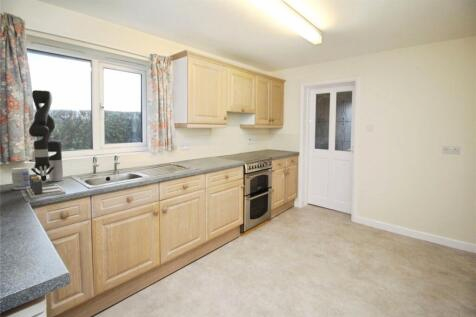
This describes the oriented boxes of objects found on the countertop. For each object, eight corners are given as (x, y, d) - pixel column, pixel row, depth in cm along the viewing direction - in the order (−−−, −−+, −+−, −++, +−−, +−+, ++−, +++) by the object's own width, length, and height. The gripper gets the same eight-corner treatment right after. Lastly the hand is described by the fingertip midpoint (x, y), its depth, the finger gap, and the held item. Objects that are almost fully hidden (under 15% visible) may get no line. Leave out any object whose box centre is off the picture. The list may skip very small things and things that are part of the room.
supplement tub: (28, 189, 181) (26, 168, 179) (10, 190, 177) (9, 169, 175) (32, 186, 190) (30, 166, 188) (15, 187, 185) (13, 167, 184)
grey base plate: (26, 189, 179) (25, 174, 178) (57, 186, 191) (56, 171, 190) (31, 198, 159) (29, 181, 158) (65, 193, 171) (64, 177, 170)
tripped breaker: (31, 190, 171) (30, 176, 170) (39, 189, 174) (38, 176, 173) (32, 191, 169) (31, 177, 168) (40, 190, 172) (39, 177, 170)
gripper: (52, 154, 179) (54, 178, 181) (28, 156, 170) (30, 181, 172) (54, 155, 174) (56, 180, 176) (29, 157, 164) (32, 183, 167)
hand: (43, 181), depth 174 cm, fingers closed
